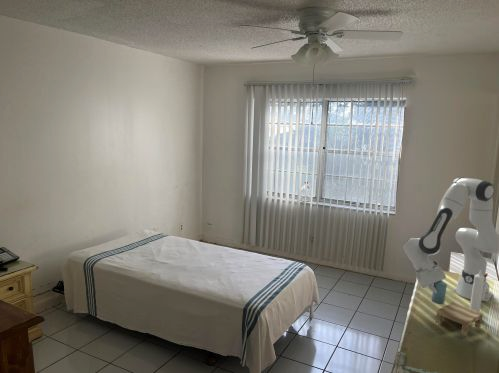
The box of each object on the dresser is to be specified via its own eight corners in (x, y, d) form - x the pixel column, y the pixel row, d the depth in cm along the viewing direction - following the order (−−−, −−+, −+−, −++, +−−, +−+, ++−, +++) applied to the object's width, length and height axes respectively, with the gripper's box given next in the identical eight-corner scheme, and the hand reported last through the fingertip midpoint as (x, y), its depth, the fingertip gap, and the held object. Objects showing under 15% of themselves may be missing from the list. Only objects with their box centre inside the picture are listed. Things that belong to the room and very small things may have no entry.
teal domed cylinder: (435, 297, 202) (437, 280, 201) (446, 302, 198) (449, 284, 196) (429, 300, 199) (431, 282, 197) (440, 305, 194) (443, 286, 192)
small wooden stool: (451, 315, 197) (453, 302, 195) (480, 327, 186) (482, 313, 184) (435, 323, 187) (437, 309, 186) (465, 336, 176) (467, 322, 175)
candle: (483, 320, 192) (491, 273, 189) (468, 318, 194) (475, 271, 190) (478, 314, 199) (485, 268, 195) (463, 312, 201) (470, 267, 197)
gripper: (418, 268, 195) (435, 293, 188) (438, 261, 207) (454, 284, 201) (409, 273, 199) (425, 298, 193) (429, 266, 211) (445, 289, 205)
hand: (440, 291), depth 197 cm, fingers closed on teal domed cylinder, 6 cm apart
